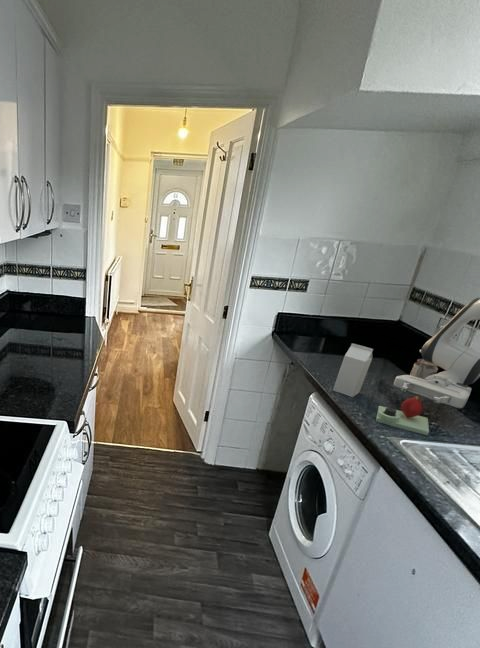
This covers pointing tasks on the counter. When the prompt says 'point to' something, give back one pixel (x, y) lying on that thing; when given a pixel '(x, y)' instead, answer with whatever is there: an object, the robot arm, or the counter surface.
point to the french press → (423, 368)
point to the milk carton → (353, 370)
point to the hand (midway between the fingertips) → (419, 394)
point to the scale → (404, 421)
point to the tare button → (390, 412)
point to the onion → (412, 407)
